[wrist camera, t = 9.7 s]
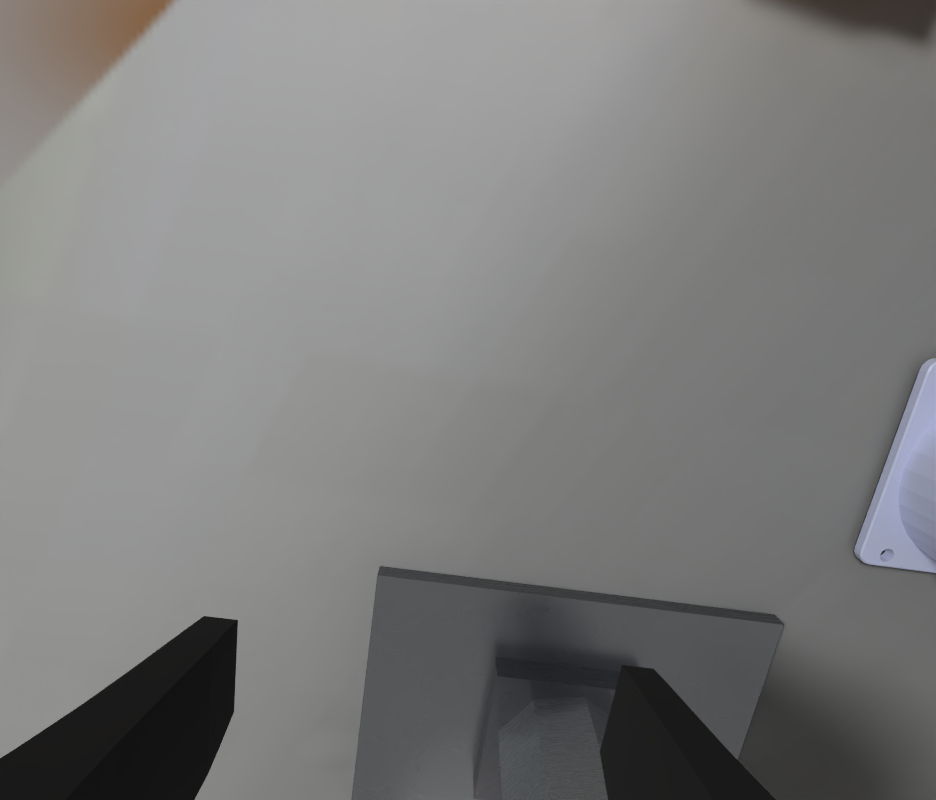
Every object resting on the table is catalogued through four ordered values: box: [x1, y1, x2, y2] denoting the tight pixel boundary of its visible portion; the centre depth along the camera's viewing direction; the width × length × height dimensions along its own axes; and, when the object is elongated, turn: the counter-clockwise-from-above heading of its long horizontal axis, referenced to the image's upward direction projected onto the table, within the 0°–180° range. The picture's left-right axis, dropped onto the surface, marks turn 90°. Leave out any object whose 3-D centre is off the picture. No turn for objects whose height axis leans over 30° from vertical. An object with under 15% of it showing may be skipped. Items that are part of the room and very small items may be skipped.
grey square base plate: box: [351, 567, 784, 800], centre depth 19 cm, size 16×12×6 cm
